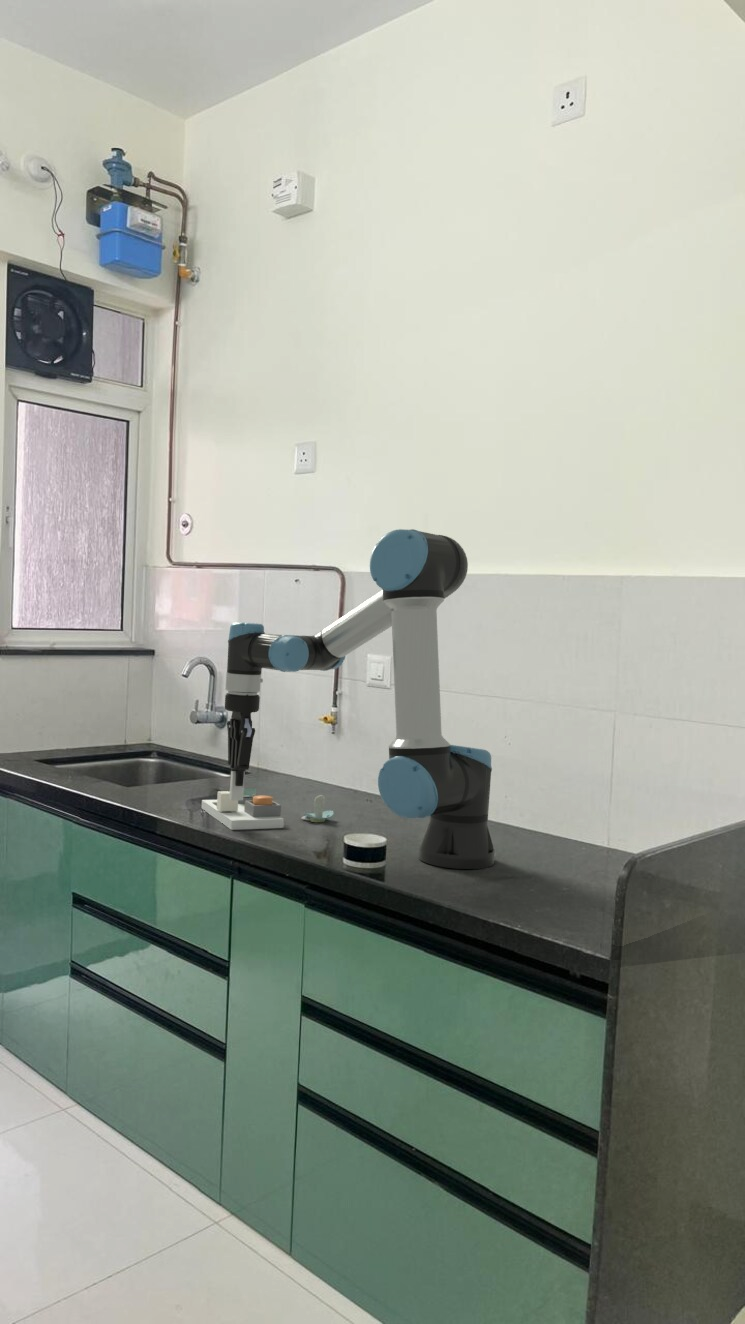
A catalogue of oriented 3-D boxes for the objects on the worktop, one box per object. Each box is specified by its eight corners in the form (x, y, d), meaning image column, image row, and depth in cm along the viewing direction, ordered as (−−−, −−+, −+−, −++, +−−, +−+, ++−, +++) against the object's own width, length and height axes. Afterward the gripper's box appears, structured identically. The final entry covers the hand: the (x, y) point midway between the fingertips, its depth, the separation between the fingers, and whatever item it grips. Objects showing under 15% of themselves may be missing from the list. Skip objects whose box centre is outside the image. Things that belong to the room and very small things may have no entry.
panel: (284, 827, 224) (285, 807, 224) (231, 829, 219) (232, 809, 218) (250, 806, 245) (251, 788, 245) (201, 808, 240) (202, 789, 240)
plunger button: (274, 812, 227) (275, 798, 226) (256, 812, 225) (256, 799, 225) (268, 808, 231) (269, 795, 230) (250, 808, 229) (250, 795, 229)
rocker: (256, 794, 237) (256, 788, 238) (241, 794, 236) (241, 788, 236) (248, 796, 243) (248, 790, 243) (234, 796, 241) (233, 790, 241)
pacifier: (295, 820, 234) (309, 824, 230) (296, 793, 234) (310, 796, 229) (322, 818, 239) (336, 822, 234) (323, 791, 239) (337, 795, 234)
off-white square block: (237, 811, 228) (238, 793, 228) (220, 811, 226) (221, 793, 226) (233, 808, 231) (234, 791, 230) (216, 808, 229) (217, 791, 229)
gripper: (268, 696, 217) (261, 805, 218) (249, 690, 228) (243, 793, 230) (235, 695, 213) (228, 806, 215) (217, 689, 225) (211, 794, 226)
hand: (236, 799), depth 222 cm, fingers closed
